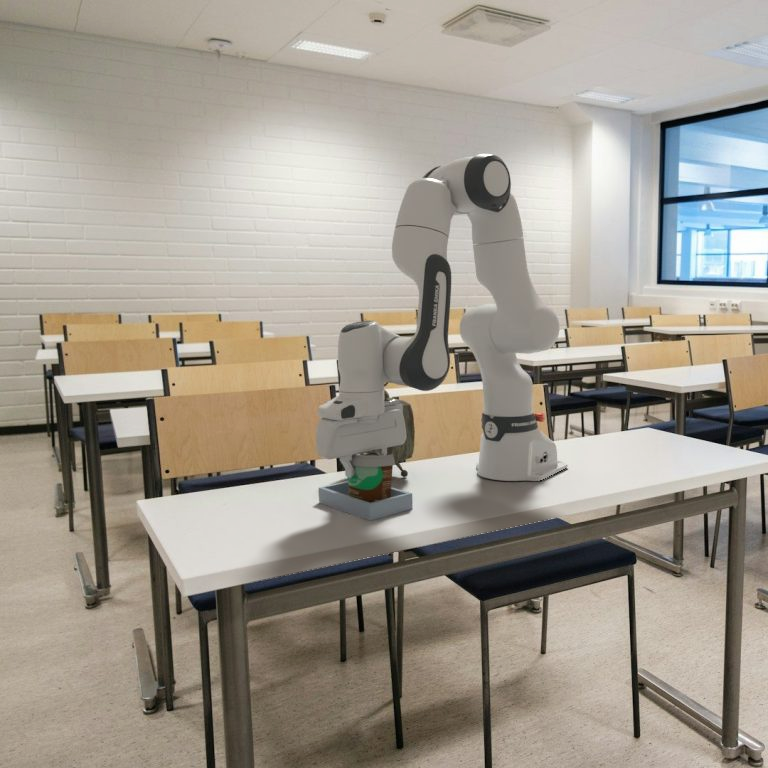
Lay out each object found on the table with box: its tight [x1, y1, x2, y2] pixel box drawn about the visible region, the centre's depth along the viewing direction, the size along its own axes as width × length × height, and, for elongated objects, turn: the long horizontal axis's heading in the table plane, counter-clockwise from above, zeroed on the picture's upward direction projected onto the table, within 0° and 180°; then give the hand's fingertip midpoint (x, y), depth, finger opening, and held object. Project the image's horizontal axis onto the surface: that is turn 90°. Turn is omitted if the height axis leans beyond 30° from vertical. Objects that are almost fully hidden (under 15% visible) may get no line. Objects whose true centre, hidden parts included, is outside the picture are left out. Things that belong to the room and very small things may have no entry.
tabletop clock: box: [363, 382, 416, 478], centre depth 160 cm, size 14×9×25 cm, turn 45°
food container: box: [346, 453, 396, 503], centre depth 137 cm, size 12×6×10 cm, turn 44°
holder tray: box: [318, 480, 414, 522], centre depth 138 cm, size 11×17×3 cm, turn 40°
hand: (364, 473), depth 138 cm, fingers closed on food container, 5 cm apart
